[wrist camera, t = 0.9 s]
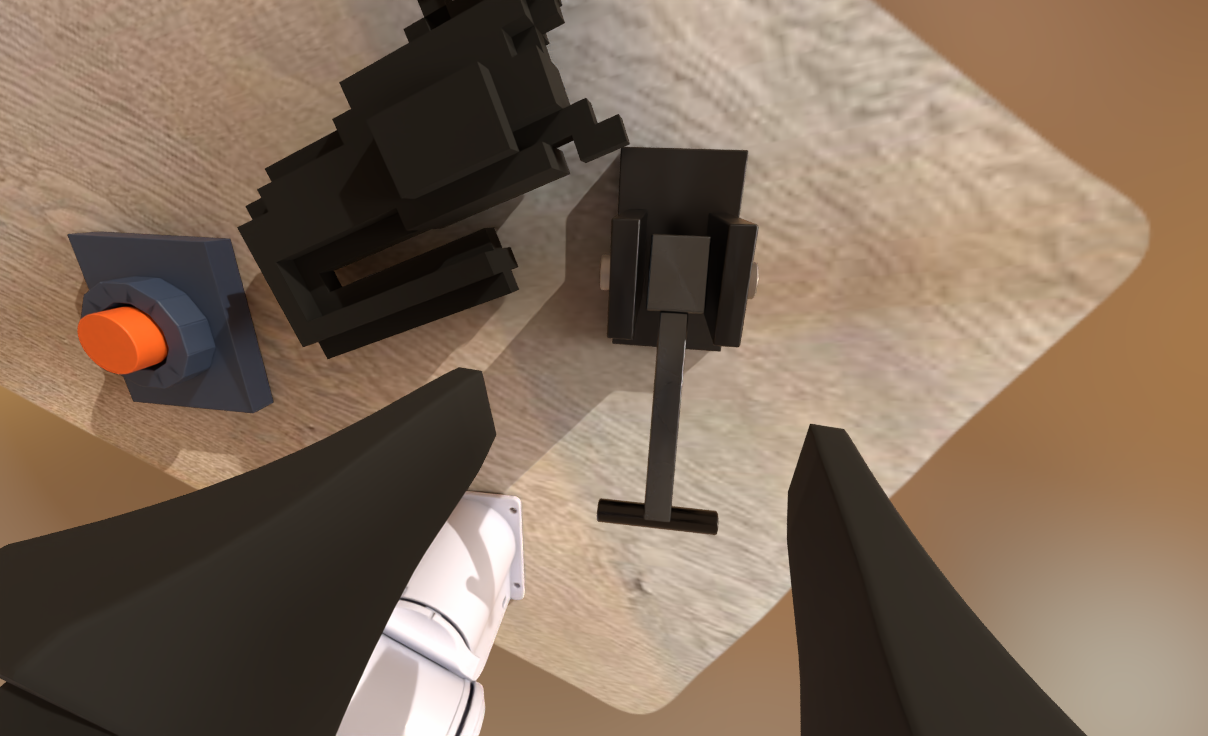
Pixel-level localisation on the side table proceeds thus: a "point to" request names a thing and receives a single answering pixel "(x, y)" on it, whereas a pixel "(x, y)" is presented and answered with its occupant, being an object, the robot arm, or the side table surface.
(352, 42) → the side table surface
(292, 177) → the tool
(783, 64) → the side table surface
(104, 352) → the button
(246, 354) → the button box
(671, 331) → the switch lever
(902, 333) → the side table surface
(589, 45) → the side table surface
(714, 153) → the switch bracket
